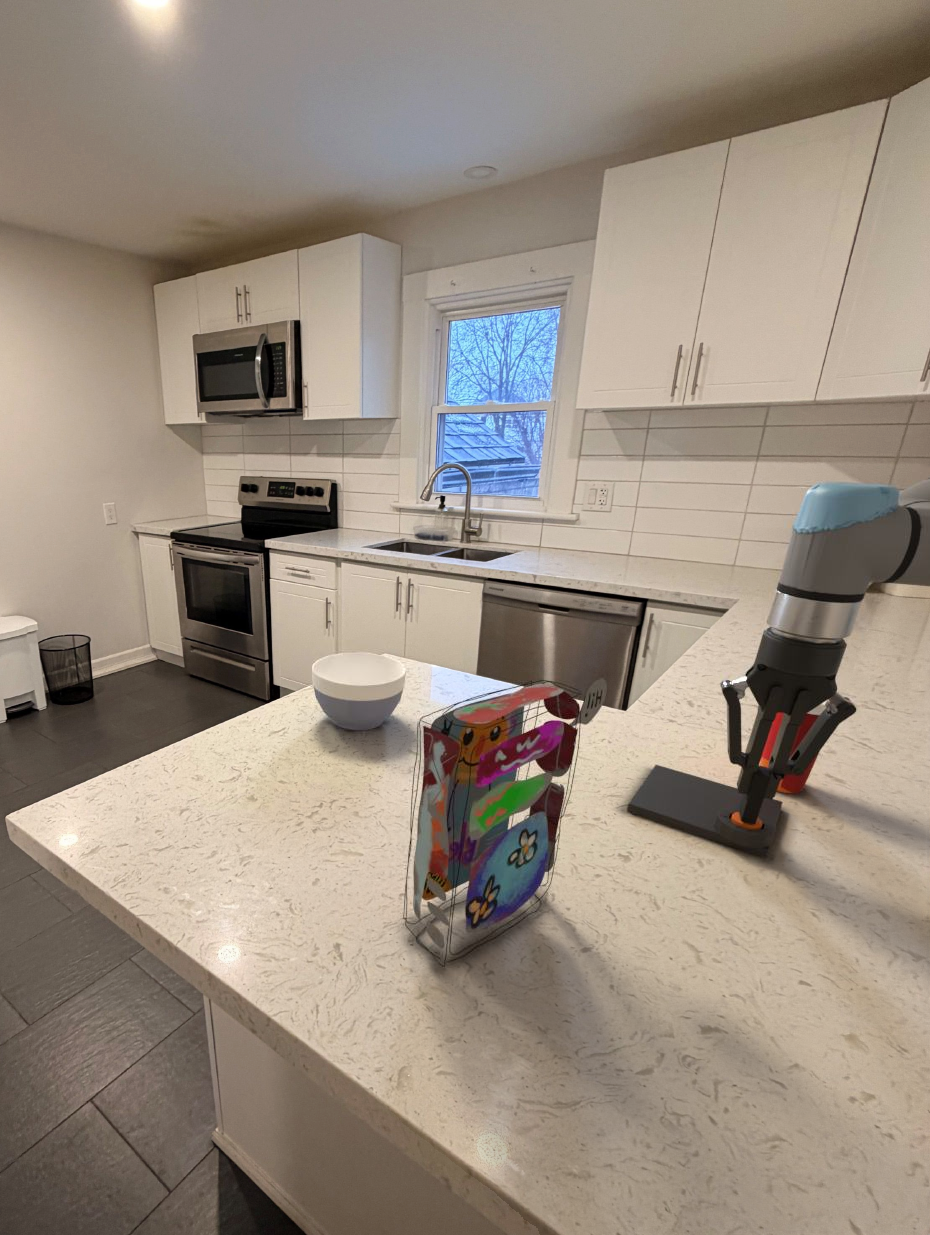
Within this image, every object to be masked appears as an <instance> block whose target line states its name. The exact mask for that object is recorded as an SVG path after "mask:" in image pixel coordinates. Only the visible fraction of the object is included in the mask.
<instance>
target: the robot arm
mask: <svg viewBox="0 0 930 1235" xmlns="http://www.w3.org/2000/svg"><path fill="white" fill-rule="evenodd" d="M800 504H801V505H800V508H799V510H798V512H797V516H796V519H795V521H794V524H793V525H792V528H791V531H792V532H791V535H790V539H789V543H788V547H787V549H786V555H785V558H784V562H783V565H782V569H781V573H780V576H779V580H778V583H777V586H776V590H775V593H774V596H773V599H772V602H771V606H770V609H769V613H768V615H767V619H766V624H767V625H768V626H769V627H767V628H766V629H764V630H763V632H762V636H761V639H760V642H759V645H758V648H757V652H756V655H755V658H754V659H755V660H754V662H753V664H752V666H751V667H750V668H749V669H748V670H747V671H746V672H745V675H744V676H743V677H740V678H738V679H733V680H729V679H723V680H722V681H721V682H720V688H721V692H722V695H723V697H724V699H725V701H726V731H727V732H726V733H727V734H726V735H727V736H726V737H727V740H726V741H727V755H728V759H729V762H730V763H731V764H732V765H737V766H739V767H741V768H740V771H739V774H738V778H737V781H736V788H738V792H739V793H741V794H743V797H742V801H741V804H740V807H739V814H740V819H741V821H742V822H747V823H751V824H756V821H757V818H758V815H759V812H760V808H761V805H762V802H763V799H764V798H766V799H771V800H772V799H775V797H776V795H777V792H778V791H777V789H778V786H779V783H780V780H783V779H784V778H785V775H791V774H793V775H795V776H800V775H802V774H803V773H804V772H805V771H806V769H807V768H808V767H809V765H810V764H811V762H812V761H813V760H814V758H815V757H816V755H817V754H818V753H819V754H820V752H821V750H822V749H823V747H824V746H825V744H826V743H828V740H829V739H830V738H831V737H832V735H833V734H834V733H835V731H836V730H837V728H838V727H839V725H840V724H841V723H843V722H844V721H846V720H847V719H849V718H850V717H852V716H853V715H854V714H856V712H857V707H856V705H855V704H854V703H853V701H852V700H851V699H850V698H849V697H847V696H843V695H842V694H841V693H840V692H838V685H837V681H836V679H837V675H838V672H839V669H840V667H841V663H842V662H843V657H844V655H845V652H846V650H847V645H848V644H847V642H846V641H845V639H847V638H849V637H851V635H852V632H853V630H854V626H855V624H856V621H857V617H858V615H859V611H860V608H861V605H862V602H863V600H864V598H865V595H866V592H867V589H868V587H869V585H870V583H878V584H896V585H897V584H898V585H909V586H910V585H911V586H921V587H930V477H929V478H927V479H924V480H921V481H920V482H918V483H916V484H913V485H911V486H910V487H908V488H905V489H903V490H901V491H899V489H898V488H897V487H895V486H894V485H889V484H882V483H881V484H879V483H869V482H868V483H867V482H865V483H863V482H851V481H850V482H848V481H847V482H846V481H845V482H844V481H826V482H825V481H823V482H819V483H817V484H814V485H813V486H811V487H810V488H808V490H807V491H806V493H805V495H804V498H803V500H802V502H801V503H800ZM748 688H749V690H750V692H751V694H752V696H753V697H754V699H755V701H756V703H757V713H756V715H755V719H754V723H753V725H752V729H751V733H750V734H749V738H748V741H747V745H746V749H745V752H743V749H742V748H743V747H742V745H743V744H742V743H743V742H742V706H741V702H740V700H741V699H744V698H745V696H746V690H747V689H748ZM826 700H827V702H826V703H825V705H824V707H825V710H824V711H823V712H822V713H821V714H820V716H819V717H818V718H817V720H816V721H815V723H814V724H813V726H812V727H811V728H810V730H809V731H808V733H807V734H806V736H805V737H804V738H803V740H802V741H801V743H800V744H799V746H798V747H797V748H796V750H795V751H794V753H793V754H792V756H791V757H790V754H791V751H792V748H793V745H794V742H795V739H796V736H797V733H798V730H799V727H800V726H801V725H802V722H803V719H804V716H805V714H806V713H808V712H810V711H811V710H813V709H814V708H816V707H817V706H819V705H820V704H822V703H823V702H825V701H826ZM777 713H783V719H782V722H781V725H780V728H779V731H778V734H777V738H776V741H775V744H774V747H773V750H772V753H771V756H770V760H769V763H768V765H769V766H768V768H767V767H763V766H760V761H761V757H762V754H763V751H764V748H765V745H766V742H767V739H768V735H769V732H770V729H771V726H772V723H773V721H774V720H775V717H776V714H777ZM819 751H820V752H819ZM819 754H818V755H819ZM789 757H790V758H789Z"/></svg>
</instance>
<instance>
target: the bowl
mask: <svg viewBox="0 0 930 1235" xmlns="http://www.w3.org/2000/svg"><path fill="white" fill-rule="evenodd" d="M406 674H407V668H406V666H405V665H404V664H403V663H402V662H401V661H399V660H397V659H395V658H393V657H390V656H386V655H382V654H377V653H370V652H341V653H334V654H329V655H326V656H324V657H321V658H319V659H317V660H316V661H314V662H313V664H312V666H311V676H312V686H313V692H314V696H315V699H316V701H317V703H318V705H319V706H320V709H321V710H322V712H323V713H324V714H325V715H326V716H328V717H329V718H330V720H331V722H332V724H334V725H335V726H337V727H339V728H342V729H345V730H350V731H368V730H373V729H376V728H378V727H380V726H381V725H382V724H383V723H384V721H385V720H386V719H387V718H389V717H390V716H392V714H393V712H394V711H395V710H396V708H397V707H398V705H399V704H400V702H401V699H402V695H403V692H404V688H405V684H406V683H405V682H406Z"/></svg>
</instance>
